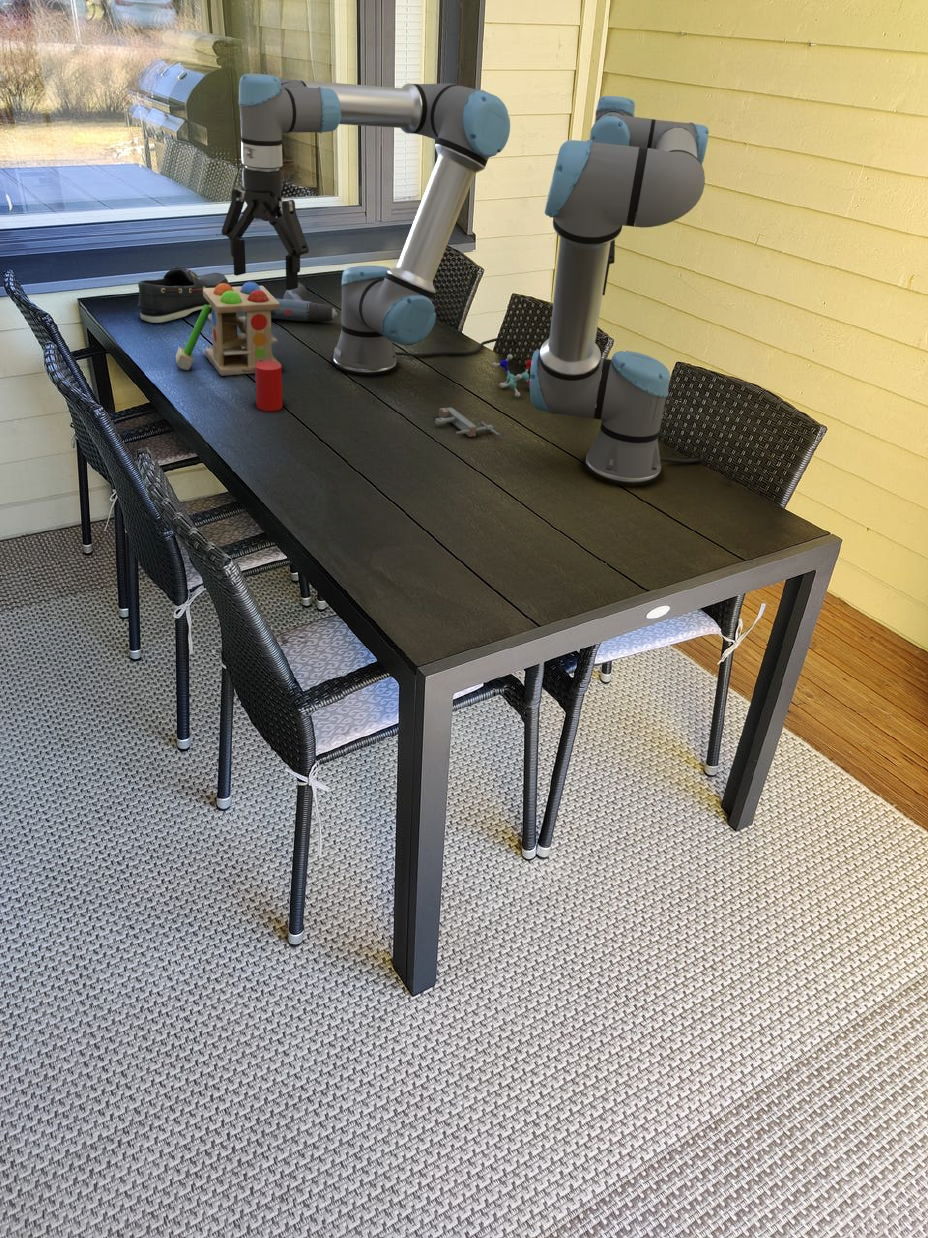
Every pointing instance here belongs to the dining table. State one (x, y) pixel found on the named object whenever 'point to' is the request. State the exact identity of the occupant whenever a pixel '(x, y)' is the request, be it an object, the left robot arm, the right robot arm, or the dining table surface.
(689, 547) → the dining table surface
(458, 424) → the clamp
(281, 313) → the power drill
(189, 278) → the boat shoe
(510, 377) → the molecular model
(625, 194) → the right robot arm
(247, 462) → the dining table surface
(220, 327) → the pounding bench toy
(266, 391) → the tin
